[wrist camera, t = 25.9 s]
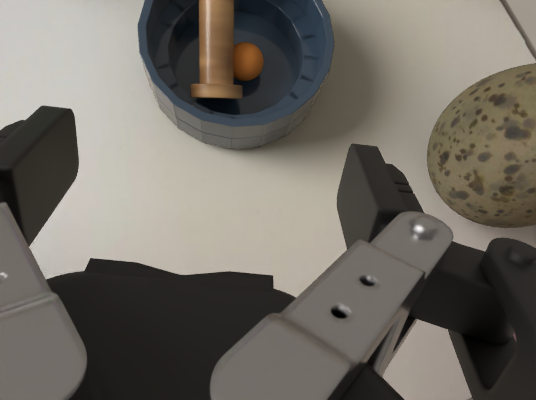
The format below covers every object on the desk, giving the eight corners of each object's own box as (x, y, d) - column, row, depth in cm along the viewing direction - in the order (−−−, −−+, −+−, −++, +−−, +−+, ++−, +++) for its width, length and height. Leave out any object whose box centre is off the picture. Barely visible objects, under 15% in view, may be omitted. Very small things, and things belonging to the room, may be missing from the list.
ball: (264, 63, 39) (235, 83, 39) (246, 31, 37) (216, 52, 37) (274, 71, 36) (243, 92, 36) (255, 37, 35) (222, 60, 35)
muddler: (179, 97, 35) (176, -95, 32) (209, 98, 38) (209, -75, 35) (224, 98, 33) (225, -105, 30) (251, 99, 36) (254, -83, 34)
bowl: (190, 177, 36) (185, 156, 31) (123, 27, 39) (108, -17, 33) (345, 113, 39) (365, 83, 34) (275, -25, 41) (284, -73, 36)
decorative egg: (532, 138, 40) (710, 47, 26) (511, 255, 38) (694, 228, 23) (418, 99, 40) (532, -16, 25) (388, 214, 37) (497, 160, 23)
